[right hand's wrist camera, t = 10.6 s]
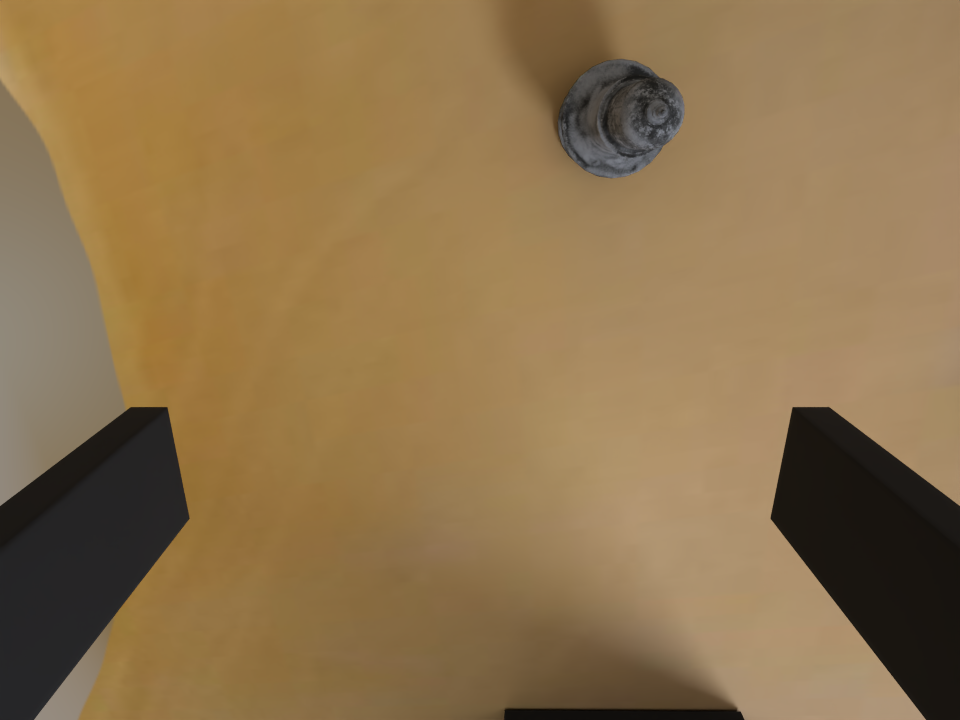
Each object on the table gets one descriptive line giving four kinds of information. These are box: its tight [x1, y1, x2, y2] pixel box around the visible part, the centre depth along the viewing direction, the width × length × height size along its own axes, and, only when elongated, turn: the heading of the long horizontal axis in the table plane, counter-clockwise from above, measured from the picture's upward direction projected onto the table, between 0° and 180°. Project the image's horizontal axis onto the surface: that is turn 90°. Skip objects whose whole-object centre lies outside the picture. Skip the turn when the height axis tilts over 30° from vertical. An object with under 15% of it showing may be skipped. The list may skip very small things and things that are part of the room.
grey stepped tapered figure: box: [558, 59, 684, 178], centre depth 29 cm, size 6×6×12 cm
